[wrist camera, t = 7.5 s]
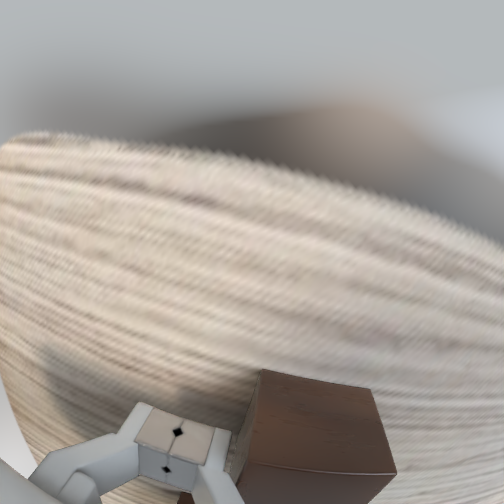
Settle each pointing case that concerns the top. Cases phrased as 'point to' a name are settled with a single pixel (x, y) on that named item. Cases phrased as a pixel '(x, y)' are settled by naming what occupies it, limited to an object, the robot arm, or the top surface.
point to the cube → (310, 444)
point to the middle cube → (185, 499)
